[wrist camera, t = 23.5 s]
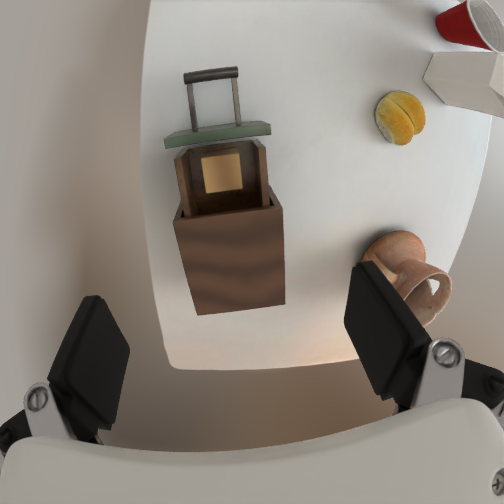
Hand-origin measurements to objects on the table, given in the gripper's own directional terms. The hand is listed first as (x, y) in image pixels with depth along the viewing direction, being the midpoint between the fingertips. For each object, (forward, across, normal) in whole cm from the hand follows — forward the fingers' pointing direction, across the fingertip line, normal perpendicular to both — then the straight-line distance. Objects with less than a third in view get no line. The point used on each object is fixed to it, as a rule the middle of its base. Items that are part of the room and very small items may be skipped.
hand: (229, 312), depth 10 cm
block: (+28, 0, +1) cm, 28 cm away
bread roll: (+31, -27, -5) cm, 41 cm away
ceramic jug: (+31, -28, +21) cm, 46 cm away
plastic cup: (+31, -41, -25) cm, 57 cm away
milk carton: (+31, -38, -14) cm, 50 cm away
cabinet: (+30, 0, +12) cm, 33 cm away
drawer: (+29, 0, -1) cm, 29 cm away
